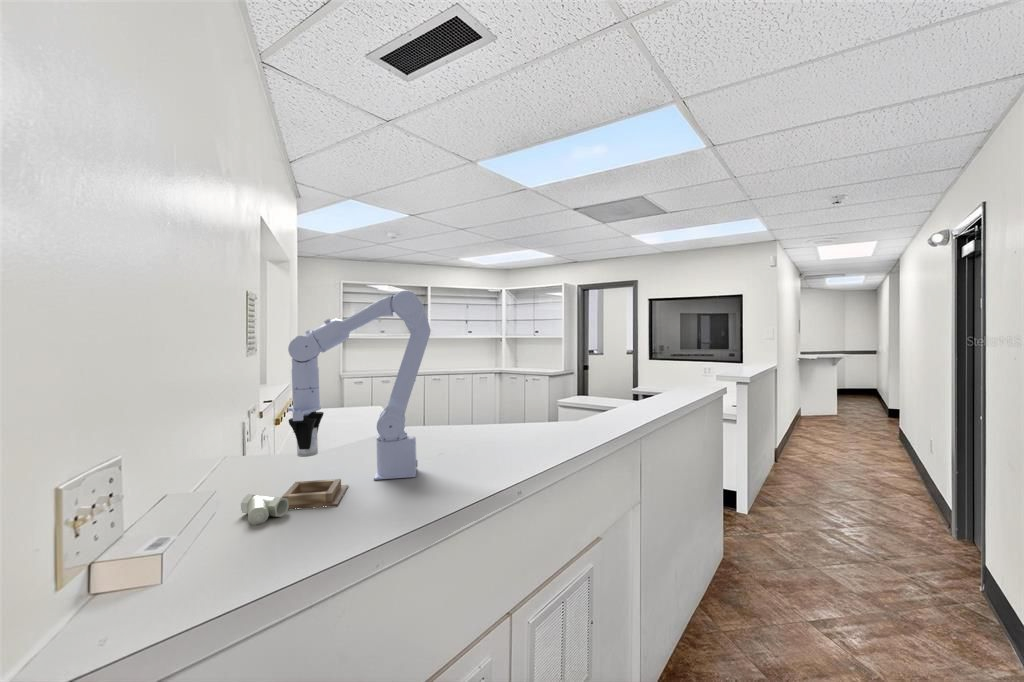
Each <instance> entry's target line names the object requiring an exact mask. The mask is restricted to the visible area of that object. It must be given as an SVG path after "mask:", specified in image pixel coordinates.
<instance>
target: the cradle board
mask: <svg viewBox="0 0 1024 682" xmlns="http://www.w3.org/2000/svg"><path fill="white" fill-rule="evenodd" d="M347 487H348V488H349V484H342V479H341V478H333V479H321V480H320V479H318V480H317V479H316V480H303V481H302V480H301V481H295V482H294V483H293V484H292V485H291V486H290V487H289V488H288V489H287V491H286V492H285V493H283V495H282V496H281V498H287V499H288V501H289V509H295V508H296V509H297V508H310V509H314V508H313V507H323V506H324V507H323V508H329V507H328V506H336V507H338V506H339V505H340V503H341V501H342V499H343V497H344V496H343V495H345V494H346V492H347V490H348V488H347ZM346 489H347V490H346ZM345 491H346V492H345ZM344 493H345V494H344ZM339 502H340V503H339ZM338 504H339V505H338ZM325 506H327V507H325ZM297 510H298V509H297Z"/></svg>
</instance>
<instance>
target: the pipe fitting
mask: <svg viewBox="0 0 1024 682" xmlns="http://www.w3.org/2000/svg"><path fill="white" fill-rule="evenodd" d="M288 509H289V501H288V499H287V498H282V496H281V497H279V496H274V497H273V496H265V495H257V494H251V493H248V494H246V496H245V497H244V498H242V500H241V502H240V511H241V513H242V514H247V520H248V522H249V523H250V525H253V526H255V525H260V524H264V523H265V522H266V521H267V520H268V518H269V517H277V518H283V517H284V516H286V514H287V512H288V511H289V510H288ZM282 516H283V517H282Z"/></svg>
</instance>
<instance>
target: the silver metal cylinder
mask: <svg viewBox="0 0 1024 682" xmlns="http://www.w3.org/2000/svg"><path fill="white" fill-rule="evenodd" d="M318 440H319V439H318V433H317V427H313V431H312V438H311V446H310V449H301V450H300V449H299V446H298V443H297V442H296V454H297V455H296V456H297V457H298V458H299V457H300V458H307V457H313V456H316V455H318V454H319V447H318V446H319V445H318Z"/></svg>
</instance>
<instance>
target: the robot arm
mask: <svg viewBox="0 0 1024 682" xmlns="http://www.w3.org/2000/svg"><path fill="white" fill-rule="evenodd" d="M394 313H395V314H396V316H398V317H399V319H401V320H402V321H403V322H404V324H405V326H406V328H407V330H408V331H409V339H408V342H407V344H406V347H405V351H404V353H403V357H402V359H401V362H400V363H401V364H400V366H399V369H398V372H397V375H396V378H395V382H394V385H393V387H392V391H391V394H390V397H389V400H388V402H387V404H386V407H385V408H384V409H383V410H382V411H381V413H380V414H379V417H378V420H377V423H376V431H377V433H378V435H376V437H375V438H376V471H375V474H374V476H373V480H375V481H376V480H389V479H404V478H405V479H407V478H415V477H416V476H417V469H418V463H419V462H418V459H417V438H416V436H408V432H406V431H405V427H406V425H405V423H406V414H405V413H406V412H407V408H408V403H409V401H410V398H411V395H412V392H413V388H414V385H415V383H416V379H417V376H418V373H419V370H420V367H421V363H422V362H423V361H422V360H423V358H424V355H425V351H426V349H427V345H428V342H429V340H430V339H429V338H430V337H431V326H430V323H429V320H428V316H427V313H426V311H425V307H424V304H423V302H422V301H421V299H420V298H419V297H418V295H416V294H415V293H414V292H413V291H410V290H400V291H399V292H397V293H396V294H395V295H393V294H391V295H388V296H386V297H383V298H381V299H379V300H377V301H375V302H373V303H371V304H370V305H368V306H366V307H365V308H363V309H361V310H359V311H357V312H355V313H354V314H352V315H351V316H348V317H347V318H345V319H343V320H342V319H338V318H333V319H330V318H328V319H326V320H324V321H323V324H321V325H320V326H318V327H316V328H314V329H312V330H311V329H308V330H306V331H305V335H297V336H296V337H294V338H293V339H291V341H290V342H289V344H288V347H287V348H288V354H289V356H290V358H291V386H292V387H291V390H292V392H291V393H292V406H289V407H287V408H286V409H287V412H292V418H291V417H290V418H289V419H288V424H289V426H290V427H291V428H292V431H293V433H294V435H295V438H296V444H297V443H298V446H299V449H300V450H301V449H310V446H311V438H312V431H313V427H317V434H318V432H319V427H320V423H321V421H322V419H323V416H324V411H320V410H321V407H322V406H321V404H320V403H321V402H320V401H321V400H320V377H319V376H320V375H319V374H320V373H319V371H320V370H319V368H320V367H319V363H318V360H319V359H318V357H319V355H320V353H325V352H327V351H329V350H331V349H333V348H335V347H337V346H339V345H340V344H342V343H344V342H346V341H348V339H349V337H350V335H351V334H350V333H351V332H353V331H355V330H357V329H359V328H361V327H363V326H365V325H366V324H369V323H370V322H372V321H373V322H374V321H375V320H377V319H378V318H381V317H384V318H385V317H388V318H389V317H394Z"/></svg>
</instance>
